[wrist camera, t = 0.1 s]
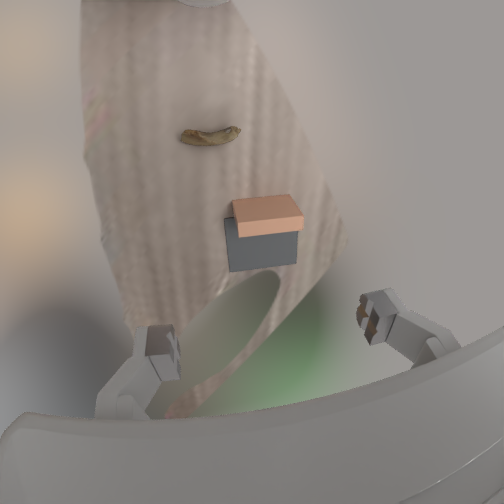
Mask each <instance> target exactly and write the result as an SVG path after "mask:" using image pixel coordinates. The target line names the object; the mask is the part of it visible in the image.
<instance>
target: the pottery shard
mask: <svg viewBox="0 0 504 504" xmlns="http://www.w3.org/2000/svg"><path fill="white" fill-rule="evenodd" d="M240 131H241V129H238V128H237V127H235V126H231V127H229V128H227V129H224V130H221V131H218V132H213V133H205V132H200V131H194V130H185V131H184V132H183V133H182V138H181V141H183V142H185V143H188V144H191V145H203V146H211V145H217V144H223V143H226V142H230V141H232V140H234V139H235V138H236V137H237V136H238V133H240Z"/></svg>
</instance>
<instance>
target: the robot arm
mask: <svg viewBox="0 0 504 504" xmlns="http://www.w3.org/2000/svg"><path fill="white" fill-rule="evenodd" d="M178 1H179V2H181V3H183V4H185V5H188V6H192V7H201V8H205V7H213V6H218V5H221V4H223V3H226V2H228V1H230V0H178ZM359 301H360V303H361V304H360V306H359V307H358V308H357V312H356V317H357V321H358V324H359V326H360V328H362V329H364V330H365V334H364V336H365V337H366V339H367V341H368V343H369V345H374V344H378V343H382V342H386V343H387V344H389V345H390V346H391V347H393V348H394V349H395V350H397V351H398V352H400V353H401V354H402V355H404V356H405V357H406V358H408V359H409V360H411V361H412V362H413V363H414V364H413V366H412V367H411V369H410V370H408V371H405V372H402V373H400V374H397V375H394V376H391V377H388V378H386V379H382V380H380V381H376V382H373V383H370V384H367V385H363V386H360V387H357V388H354V389H350V390H347V391H343V392H340V393H335V394H332V395H328V396H324V397H320V398H316V399H311V400H307V401H303V402H298V403H293V404H288V405H283V406H278V407H273V408H267V409H262V410H255V411H249V412H242V413H235V414H227V415H218V416H209V417H198V418H184V419H165V420H151V419H150V418H149V417H148V416H147V414H146V413H145V412H144V410H145V409H146V407H147V405H148V404H149V402H150V401H151V399H152V397H153V396H154V394H155V392H156V391H157V389H158V388H159V386H160V384H161V381H170V380H179V379H181V374H180V373H181V371H180V370H181V367H180V364H179V361H178V360H179V359H180V345H179V341H178V338H177V337H176V336H175V329H174V327H173V325H172V324H167V325H153V326H142V327H137V329H136V334H135V340H134V347H133V354H132V357H130V358H128V359H127V360H126V362H125V363H124V364H123V365H122V366H121V367H120V369H119V370H118V371H117V372H116V373H115V374H114V376H113V377H112V378H111V379H110V380H109V381H108V383H107V384H106V385H105V386H104V387H103V389H102V390H101V391H100V392H99V393H98V396H97V403H96V409H95V417H94V419H87V418H74V417H64V416H55V415H47V414H40V413H34V412H24V413H23V414H21V415H20V416H19V417H18V418H16V420H14V421H13V422H12V423H11V424H10V426H9V427H8V428H7V429H6V430H5V431H4V432H3V434H2V436H1V438H0V504H504V326H503V327H501V328H499V329H498V330H496V331H494V332H492V333H490V334H488V335H486V336H484V337H482V338H481V339H479V340H477V341H475V342H473V343H471V344H468V345H467V346H464V347H461V346H460V344H459V343H458V341H457V340H456V339H455V337H454V336H453V334H452V333H451V332H450V330H448V329H446V328H445V327H443V326H441V325H439V324H437V323H435V322H433V321H431V320H429V319H427V318H425V317H423V316H421V315H420V314H418V313H416V312H414V311H412V310H410V311H408V309H407V308H406V306H405V305H404V304H403V302H402V301H401V300H400V298H399V297H398V295H397V294H396V293H395V291H394V290H393V289H392V288H387V289H383V290H378V291H374V292H369V293H365V294H362V295H361V296H360V300H359Z"/></svg>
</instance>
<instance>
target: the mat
mask: <svg viewBox="0 0 504 504" xmlns="http://www.w3.org/2000/svg"><path fill="white" fill-rule="evenodd" d="M224 222H225V232H226V241H227V250H228V259H229V268H230V272H237V271H244V270H252V269H259V268H267V267H274V266H281V265H289V264H296V259H297V237H298V231H290V232H282V233H273V234H265V235H257V236H248V237H240V238H239V236H238V231H237V227H236V223H235V219H234V218H226V219H224Z"/></svg>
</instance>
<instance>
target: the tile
mask: <svg viewBox="0 0 504 504" xmlns="http://www.w3.org/2000/svg"><path fill="white" fill-rule="evenodd" d="M232 204H233V214H234V219H235V223H236V227H237V231H238V236H239V238H240V237H248V236H257V235H265V234H273V233H282V232H290V231H299V230H303V224H304V215H303V214H302V212H301V211H300V209H299V208H298V206H297V205H296V203H295V202H294V200H293V199H292V197H291V196H290V195H289V194H288V195H277V196H267V197H257V198H248V199H238V200H232Z"/></svg>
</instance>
